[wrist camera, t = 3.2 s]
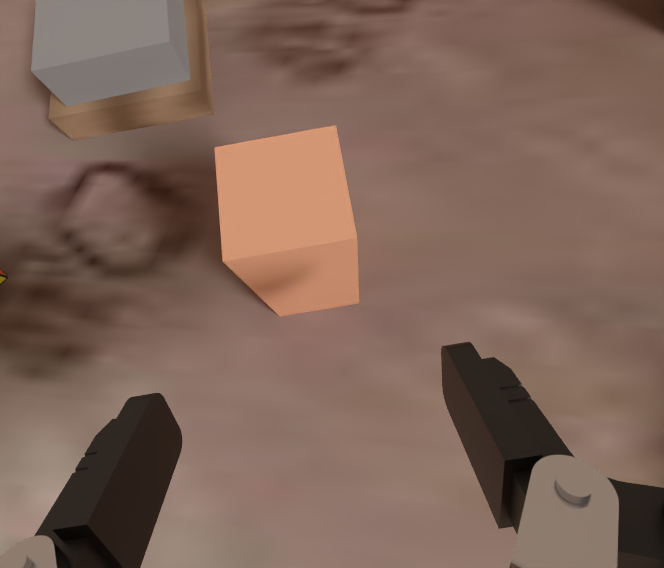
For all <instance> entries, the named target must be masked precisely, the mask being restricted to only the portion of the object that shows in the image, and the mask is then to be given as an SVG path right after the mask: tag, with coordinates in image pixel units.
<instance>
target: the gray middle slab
mask: <svg viewBox="0 0 664 568" xmlns="http://www.w3.org/2000/svg"><path fill="white" fill-rule="evenodd" d="M31 72H32V73H33V74H34V75H35V76H36V77H37V78H38V79H39V80H40V81H41V82H42V83H43V84H44V85H45V86H46V87H47V88H48V89H49V90H50V91H51V92H52V93H53V94H54V95H56V96H57V97H58V98H59V99H60V100H61V101H62V102H63V103H64V104H65V105H66V106H72V105H77V104H81V103H86V102H91V101H95V100H100V99H105V98H109V97H114V96H119V95H123V94H128V93H133V92H137V91H142V90H147V89H151V88H156V87H161V86H165V85H170V84H175V83H179V82H184V81H189V80H191V79H190V69H189V58H188V47H187V37H186V26H185V16H184V5H183V0H36V7H35V21H34V35H33V49H32V63H31Z"/></svg>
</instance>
